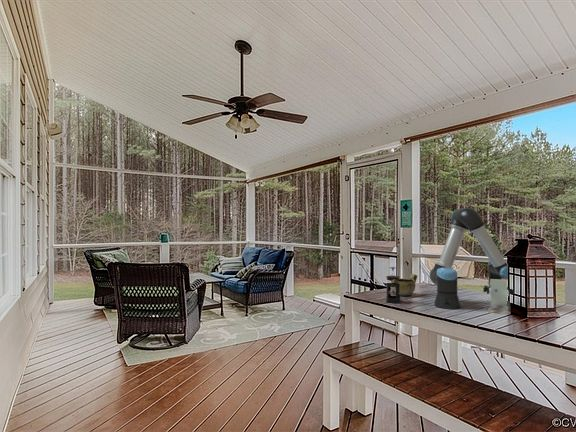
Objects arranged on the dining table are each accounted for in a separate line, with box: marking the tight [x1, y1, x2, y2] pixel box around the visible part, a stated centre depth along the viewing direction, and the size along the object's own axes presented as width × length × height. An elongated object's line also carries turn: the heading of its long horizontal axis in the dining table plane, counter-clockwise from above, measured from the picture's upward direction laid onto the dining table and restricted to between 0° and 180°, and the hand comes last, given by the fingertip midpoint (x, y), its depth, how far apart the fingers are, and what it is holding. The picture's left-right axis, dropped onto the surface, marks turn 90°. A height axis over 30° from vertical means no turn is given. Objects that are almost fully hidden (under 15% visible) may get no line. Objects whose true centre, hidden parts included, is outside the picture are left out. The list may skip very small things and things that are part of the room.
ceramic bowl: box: [389, 273, 418, 297], centre depth 261 cm, size 22×17×15 cm
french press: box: [385, 266, 402, 305], centre depth 239 cm, size 12×9×23 cm
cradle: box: [487, 300, 511, 315], centre depth 208 cm, size 11×6×6 cm, turn 63°
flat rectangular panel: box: [490, 279, 508, 306], centre depth 208 cm, size 8×3×16 cm, turn 63°
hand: (499, 293), depth 204 cm, fingers closed on flat rectangular panel, 8 cm apart
